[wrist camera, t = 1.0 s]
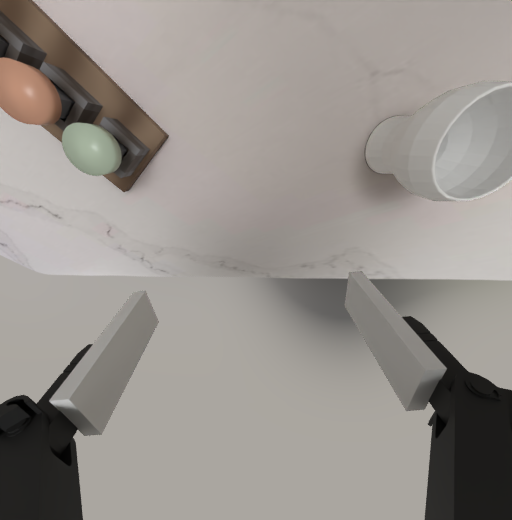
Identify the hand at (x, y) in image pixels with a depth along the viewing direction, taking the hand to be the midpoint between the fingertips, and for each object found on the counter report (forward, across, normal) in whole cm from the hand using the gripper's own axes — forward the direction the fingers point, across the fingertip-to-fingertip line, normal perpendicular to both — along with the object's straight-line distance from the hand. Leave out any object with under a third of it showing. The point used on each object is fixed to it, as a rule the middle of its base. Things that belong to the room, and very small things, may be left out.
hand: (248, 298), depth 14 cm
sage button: (+21, -17, +10) cm, 29 cm away
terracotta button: (+21, -21, +15) cm, 34 cm away
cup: (+25, +22, +6) cm, 34 cm away
